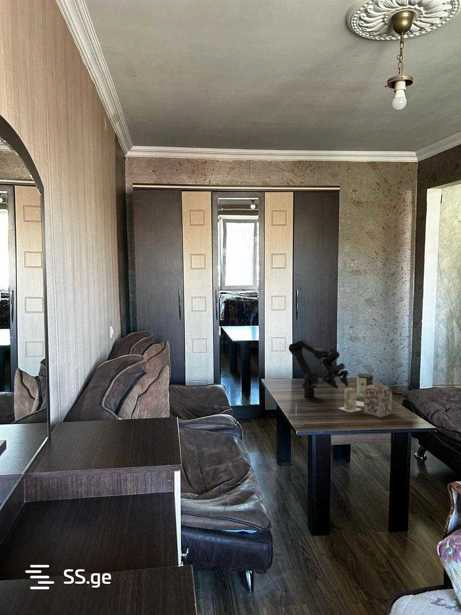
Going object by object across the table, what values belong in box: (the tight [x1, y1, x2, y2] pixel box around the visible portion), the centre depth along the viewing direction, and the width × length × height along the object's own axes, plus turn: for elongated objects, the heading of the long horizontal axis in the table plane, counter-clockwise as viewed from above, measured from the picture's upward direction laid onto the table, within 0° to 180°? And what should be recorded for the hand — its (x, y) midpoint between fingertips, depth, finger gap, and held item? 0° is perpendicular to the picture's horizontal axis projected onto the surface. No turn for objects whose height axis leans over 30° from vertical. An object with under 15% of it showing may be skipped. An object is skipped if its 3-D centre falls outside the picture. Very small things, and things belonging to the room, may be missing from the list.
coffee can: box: [356, 373, 374, 398], centre depth 303 cm, size 10×10×14 cm
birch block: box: [343, 387, 358, 411], centre depth 273 cm, size 5×5×12 cm
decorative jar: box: [363, 381, 393, 418], centre depth 265 cm, size 12×12×18 cm
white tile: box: [338, 406, 363, 413], centre depth 273 cm, size 10×10×1 cm
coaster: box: [356, 400, 364, 408], centre depth 284 cm, size 9×9×1 cm
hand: (342, 387), depth 278 cm, fingers open, 9 cm apart
